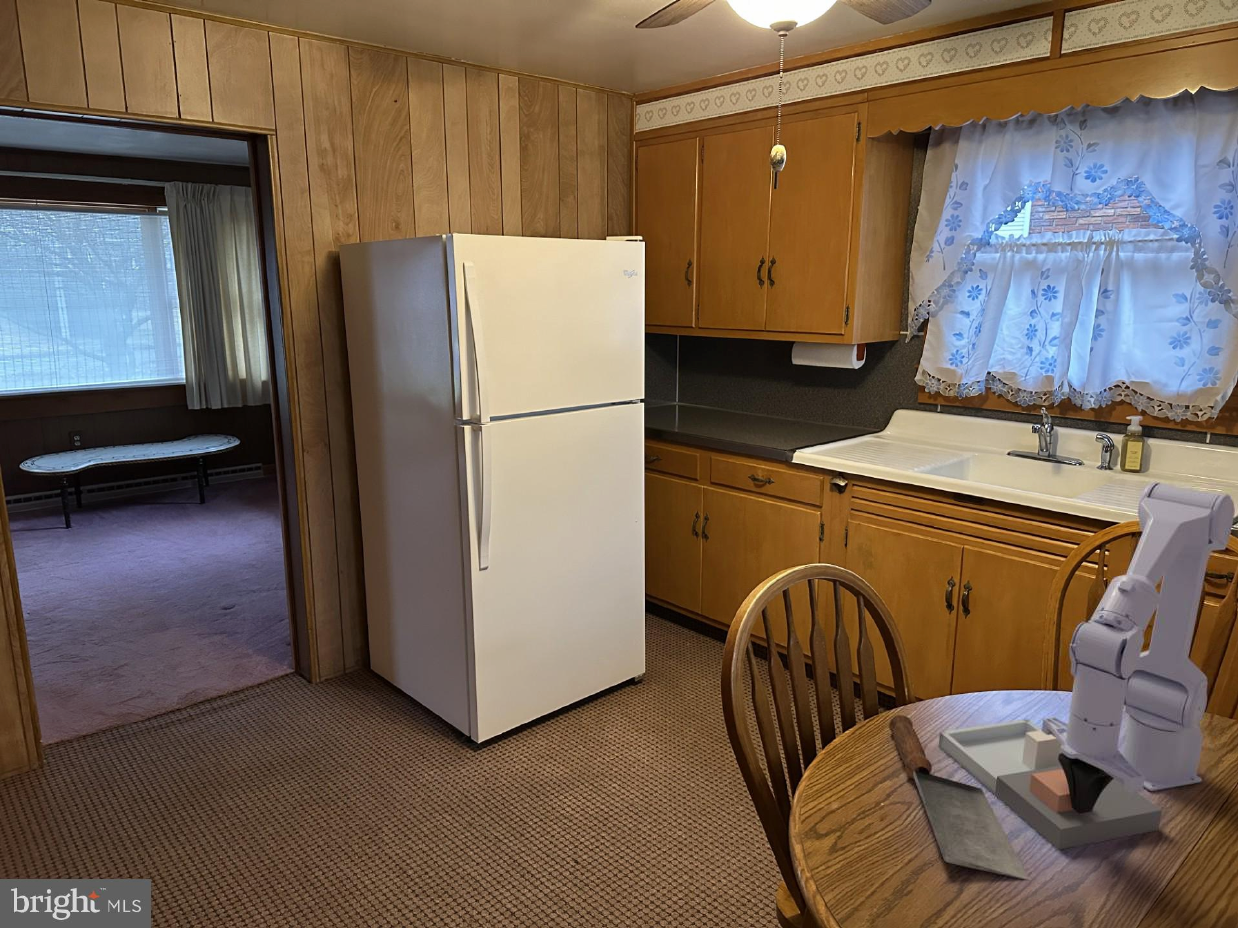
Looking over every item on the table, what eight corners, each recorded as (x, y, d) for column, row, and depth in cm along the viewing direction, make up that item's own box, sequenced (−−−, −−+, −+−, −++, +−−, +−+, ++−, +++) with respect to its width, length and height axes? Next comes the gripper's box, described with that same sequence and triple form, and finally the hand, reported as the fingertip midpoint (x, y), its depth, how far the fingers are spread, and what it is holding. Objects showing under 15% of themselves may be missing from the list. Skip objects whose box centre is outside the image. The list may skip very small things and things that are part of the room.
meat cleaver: (1037, 881, 102) (1041, 852, 101) (941, 874, 103) (945, 845, 103) (957, 737, 135) (959, 714, 134) (885, 732, 136) (887, 710, 135)
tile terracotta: (1059, 784, 116) (1062, 768, 116) (1088, 806, 112) (1090, 789, 111) (1029, 790, 115) (1031, 773, 115) (1056, 812, 110) (1059, 795, 110)
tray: (1024, 732, 135) (1026, 718, 135) (1088, 778, 123) (1090, 763, 123) (938, 746, 131) (939, 731, 131) (994, 794, 119) (996, 779, 119)
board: (1088, 778, 123) (1090, 760, 122) (1158, 829, 112) (1162, 809, 111) (994, 794, 119) (997, 775, 118) (1058, 849, 108) (1061, 828, 107)
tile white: (1062, 767, 125) (1050, 758, 127) (1066, 736, 124) (1054, 728, 126) (1034, 771, 124) (1022, 762, 126) (1038, 741, 123) (1025, 732, 125)
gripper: (1027, 691, 112) (1016, 781, 115) (1116, 749, 99) (1101, 850, 102) (1071, 685, 114) (1059, 774, 117) (1164, 741, 100) (1148, 840, 103)
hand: (1081, 809), depth 110 cm, fingers closed
